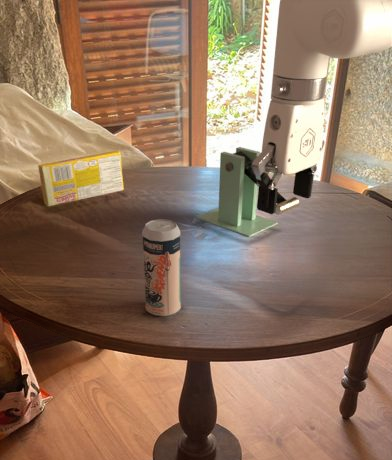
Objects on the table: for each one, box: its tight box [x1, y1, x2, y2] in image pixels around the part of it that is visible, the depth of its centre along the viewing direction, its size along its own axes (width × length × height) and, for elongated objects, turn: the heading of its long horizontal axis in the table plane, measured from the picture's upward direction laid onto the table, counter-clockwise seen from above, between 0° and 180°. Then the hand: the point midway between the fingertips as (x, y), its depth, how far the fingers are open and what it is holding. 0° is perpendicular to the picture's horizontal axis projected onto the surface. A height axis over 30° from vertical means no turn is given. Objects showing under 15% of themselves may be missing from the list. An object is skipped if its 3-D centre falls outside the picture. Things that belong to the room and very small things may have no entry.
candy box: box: [37, 150, 125, 212], centre depth 107 cm, size 16×2×8 cm, turn 126°
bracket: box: [196, 146, 279, 238], centre depth 97 cm, size 12×8×13 cm, turn 47°
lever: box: [232, 151, 300, 216], centre depth 93 cm, size 13×5×2 cm, turn 47°
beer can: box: [141, 218, 182, 317], centre depth 73 cm, size 5×5×12 cm
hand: (284, 203), depth 91 cm, fingers open, 9 cm apart
